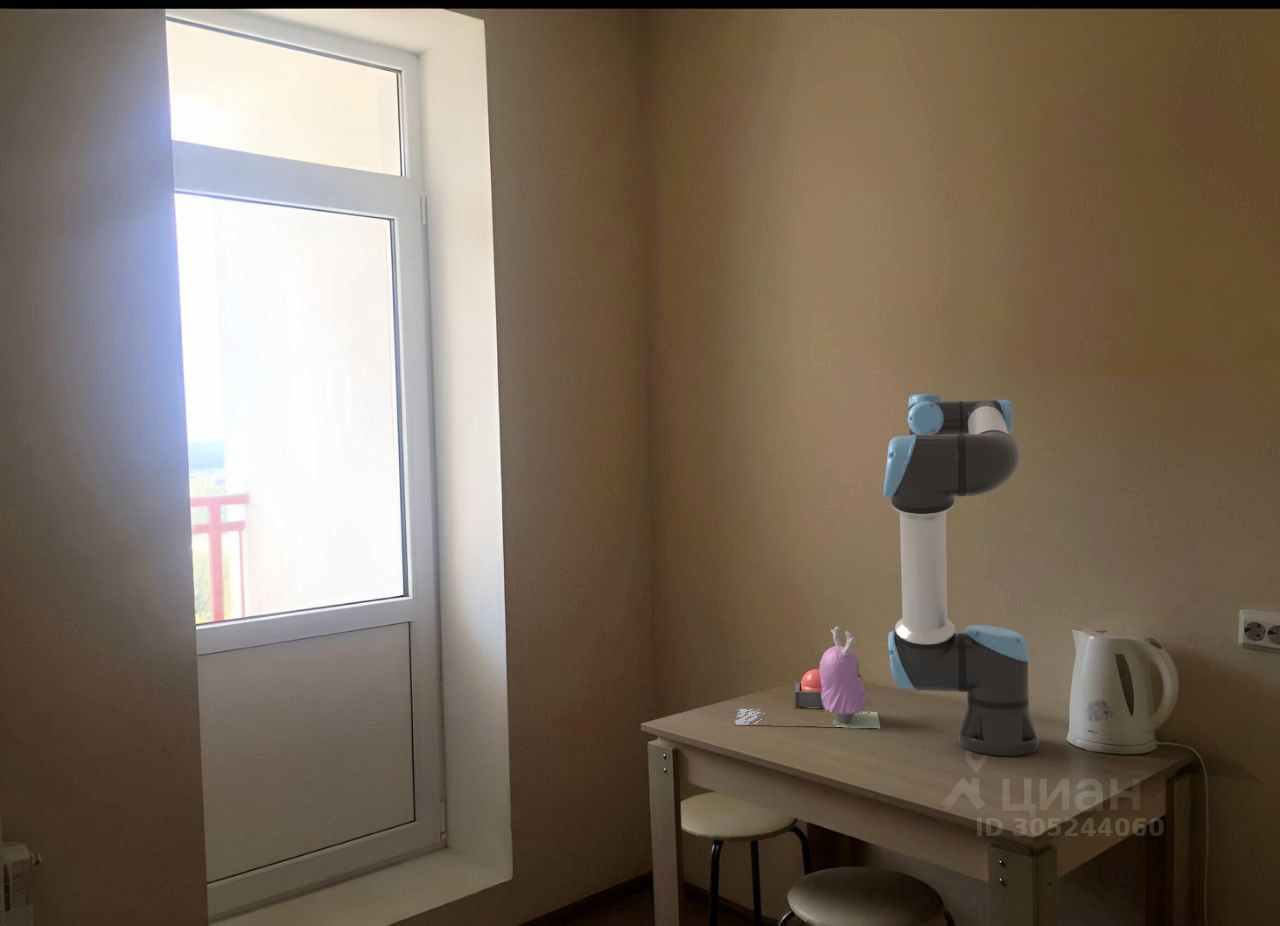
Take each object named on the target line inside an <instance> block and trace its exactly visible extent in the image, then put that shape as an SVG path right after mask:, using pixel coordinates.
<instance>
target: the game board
mask: <svg viewBox="0 0 1280 926" xmlns="http://www.w3.org/2000/svg"><path fill="white" fill-rule="evenodd" d="M739 709H740V710H739ZM739 709H738V711H740V712H738V711H737V714H739V713H741V714H739V715H737V714H736V718H737V717H742V718H740V719H738V720H736V718H735V721H734V724H736V725H735V726H742V725H748V724H749V722H750V721H753V720H754V719H756V718H757V717H758V716H757V715H756V714H759V713H761V712H759V711H758V710H761V709H762V708H760V709H759V708H757V709H758V710H756V711H758V712H756V711H751V710H754V709H755V708H739ZM747 709H749V710H747ZM747 711H750V712H748V713H745V712H747ZM755 712H756V713H755ZM860 712H862V713H860ZM868 712H870V714H869V713H868ZM752 713H754V714H752ZM866 713H868V714H867V715H866ZM878 713H879V712H878V711H859V714H857V713H856V715H855V716H854V715H853V717H852V718H851V720H850V721H849V722H847V723H846V725H847V726H846V725H844V724H845V723H842V722H841V721H840V720H839V718H838V719H837V720H836V721H835V719H836V718H835V719H834V720H833V722H834V721H835V722H834V723H833V724H835V723H841V724H842V725H841V726H839V725H837V726H836V725H835V726H836V727H846V728H845V729H848V728H847V727H848V726H849V727H851V728H850V729H857V728H878V729H877V730H881V724H880V719H879V714H878ZM745 714H748V715H746V716H744V715H745ZM763 714H765V713H763ZM864 714H865V715H864ZM754 715H755V716H754ZM761 715H762V714H761ZM862 715H864V716H863V717H862ZM743 716H744V717H743ZM750 716H753V717H751V718H749V719H747V717H750ZM759 716H760V715H759ZM860 716H861V717H860ZM859 717H860V719H859V720H858V718H859ZM745 719H747V720H745ZM760 720H762V719H760ZM760 720H759V721H760ZM746 721H748V722H746ZM759 721H757V722H755V723H753V724H756V723H758V722H759ZM735 722H736V723H735ZM744 722H746V723H744ZM765 722H766V721H765ZM822 722H823V721H822ZM858 723H859V724H858ZM734 724H733V725H734ZM756 725H757V724H756Z"/></svg>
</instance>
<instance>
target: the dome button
mask: <svg viewBox="0 0 1280 926" xmlns="http://www.w3.org/2000/svg"><path fill="white" fill-rule="evenodd" d="M800 682H801V691H819V692H822V686H821V680H820V669H819V668H818V669H817V668H816V669H810V670H808V671H807V672H805V674H804V675H803V676H802V679H801V681H800Z"/></svg>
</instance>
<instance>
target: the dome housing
mask: <svg viewBox="0 0 1280 926" xmlns="http://www.w3.org/2000/svg"><path fill="white" fill-rule="evenodd" d="M795 707H819V708H824V706H823V704H822V698H821V692H819V691H801V681H795V686H794V708H795Z"/></svg>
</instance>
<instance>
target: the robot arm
mask: <svg viewBox="0 0 1280 926" xmlns="http://www.w3.org/2000/svg"><path fill="white" fill-rule="evenodd" d="M907 409H908V410H907V411H908V413H907V425H908V432H909V433H908V434H909V435H899V436H894V437H893V438H892V439H891V440H890V441H889V444H888V449H887V456H886V466H885V475H884V482H883V483H884V485H883V496H884V497H885V498H888V499H890V500H891V503H890V504H891V507H892V508H893V509H894V510H895V511H896V512H897V513H899V526H900V527H899V531H900V533H899V534H900V535H899V536H900V565H901V566H900V570H901V573H900V574H901V603H902V604H901V607H902V609H901V610H902V617H901V619H899V620H898V621H897V622H896V624H895V625H894V626H895V627H894V628H895V629H894V630H892V631H890V632H889V633H888V639H887V640H888V641H887V642H888V651H889V652H888V653H889V663H890V670H891V674H892V679H893V682H894V683H895V685H896V686H897V687H898V688H900V689H903V690H914V691H917V692H921V691H930V692H931V691H932V692H935V691H937V692H957V693H966V694H967V696H966V697H967V698H966V699H967V702H966V703H967V704H966V709H965V711H964V714H963V718H962V720H961V723H960V727H959V729H958V744H959V746H960V747H962V748H964V749H966V750H969V751H972V752H973V753H979V754H983V753H984V754H983V755H991V756H1002V757H1014V756H1015V757H1019V756H1025V755H1026V756H1027V755H1030V754H1033V753H1035V752H1037V751H1038V750H1039V749H1040V745H1039V743H1040V742H1039V741H1040V740H1039V734H1038V730H1037V728H1036V725H1035V723H1034V720H1033V717H1032V714H1031V711H1030V705H1029V704H1030V703H1029V662H1030V657H1029V653H1028V652H1029V649H1028V647H1029V646H1028V641H1027V639H1026V637H1024V635H1022V634H1020V633H1019V632H1016V631H1014V630H1011V629H1007V628H1003V627H999V626H998V627H997V626H994V625H993V626H992V625H983V624H979V625H978V624H977V625H975V624H971V625H968V626H967V627H966V629H965V630H964V631H965V633H964V632H963V633H962V632H956V627H955V624H954V623H953V622H952V621H951V620H950V619H948V595H947V593H948V591H947V590H948V589H947V587H948V586H947V583H948V582H947V580H948V579H947V575H948V574H947V512H949V511H950V510H951V509H953V507H954V505H955V497H975V496H981V495H984V494H988V493H991V492H992V491H995V490H996V489H999V488H1000V487H1001V486H1004V484H1005V483H1007V482H1008V481H1009V480H1011V479H1012V477H1013V476H1014V475H1015V474H1016V472H1017V470H1018V468H1019V465H1020V462H1021V451H1020V449H1019V445H1018V443H1017V442H1016V440H1015V439H1014V437H1013V436H1012V435H1010V433H1012V431H1013V427H1014V425H1013V423H1014V422H1013V421H1014V415H1013V414H1014V413H1013V404H1012V402H1011V401H1010V400H1008V399H997V398H995V399H986V400H984V399H983V400H952V401H951V400H948V401H945V400H944V401H942V396H941V394H937V393H936V394H934V393H928V394H927V393H926V394H922V393H921V394H912V395H910V396H909V398H908V406H907Z"/></svg>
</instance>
